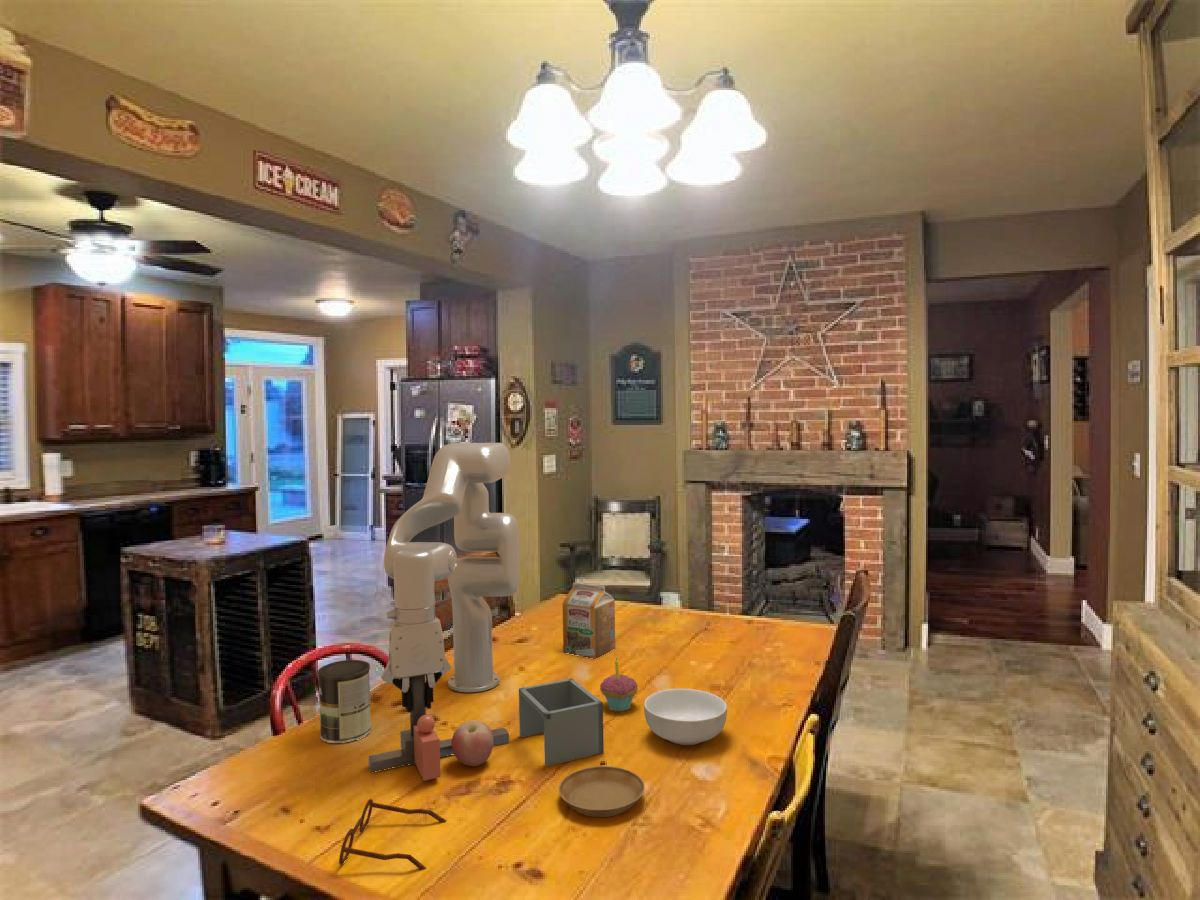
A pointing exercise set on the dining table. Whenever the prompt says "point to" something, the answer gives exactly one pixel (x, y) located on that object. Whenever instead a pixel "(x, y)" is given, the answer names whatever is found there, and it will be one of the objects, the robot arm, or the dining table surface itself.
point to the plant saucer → (601, 790)
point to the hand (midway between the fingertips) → (417, 707)
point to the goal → (562, 720)
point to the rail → (400, 759)
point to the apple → (472, 743)
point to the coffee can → (344, 701)
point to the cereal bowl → (685, 715)
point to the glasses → (360, 822)
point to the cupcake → (619, 690)
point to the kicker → (421, 733)
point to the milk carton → (588, 621)
